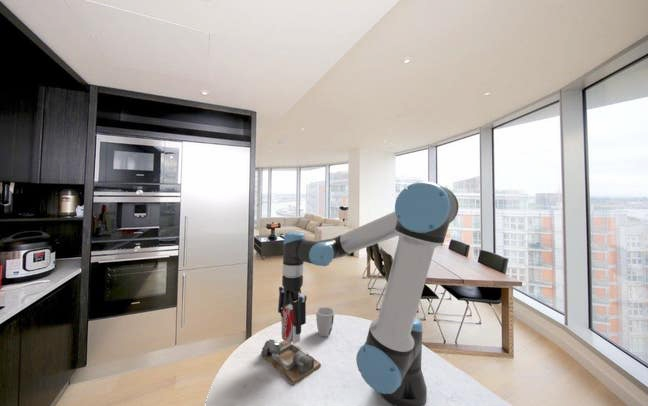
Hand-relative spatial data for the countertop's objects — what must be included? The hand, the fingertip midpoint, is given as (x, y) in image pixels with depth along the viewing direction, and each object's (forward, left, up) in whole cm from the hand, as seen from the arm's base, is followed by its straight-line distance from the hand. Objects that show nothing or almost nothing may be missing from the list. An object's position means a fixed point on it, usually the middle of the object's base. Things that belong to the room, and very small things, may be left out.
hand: (290, 337), depth 84 cm
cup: (+4, -22, -9) cm, 24 cm away
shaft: (+6, +3, -7) cm, 10 cm away
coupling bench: (0, 0, -8) cm, 8 cm away
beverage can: (0, 0, -1) cm, 1 cm away
